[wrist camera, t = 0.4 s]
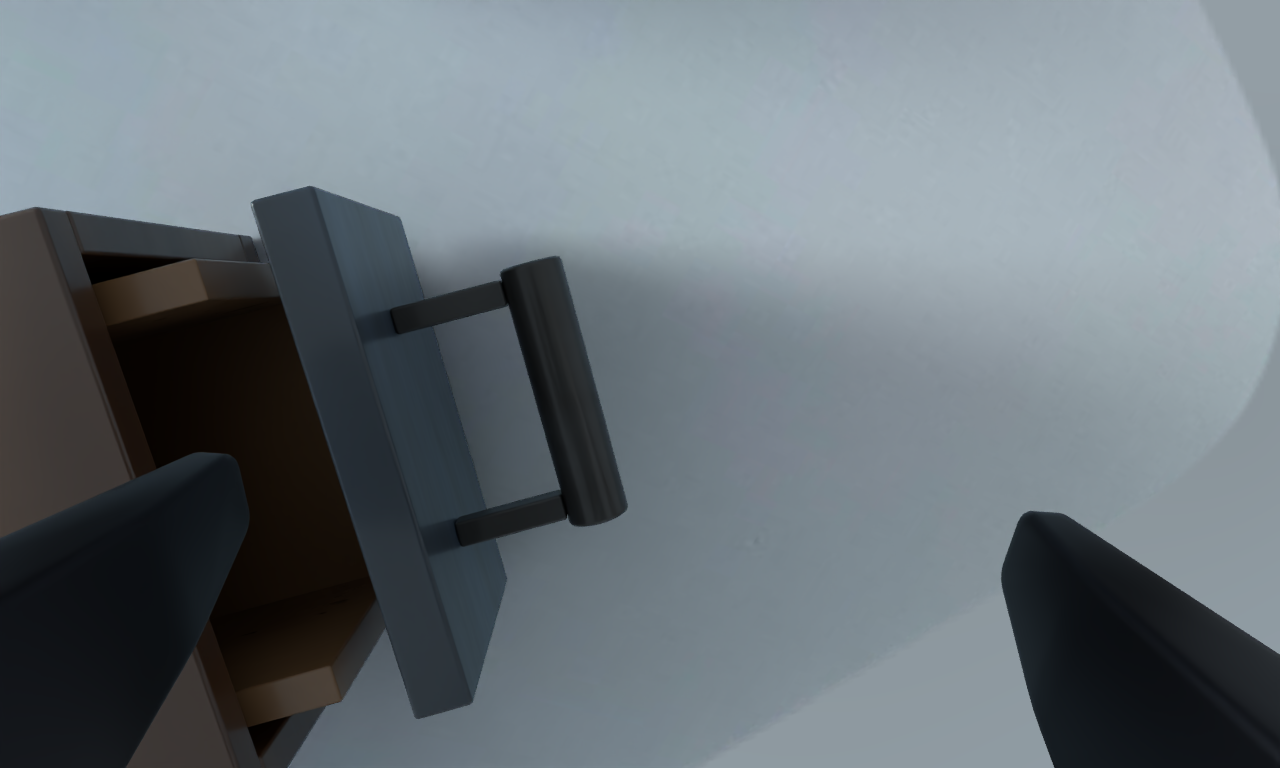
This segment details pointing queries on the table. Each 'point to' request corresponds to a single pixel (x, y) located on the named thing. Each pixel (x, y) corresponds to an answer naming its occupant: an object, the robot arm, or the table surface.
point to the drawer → (352, 446)
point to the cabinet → (107, 439)
